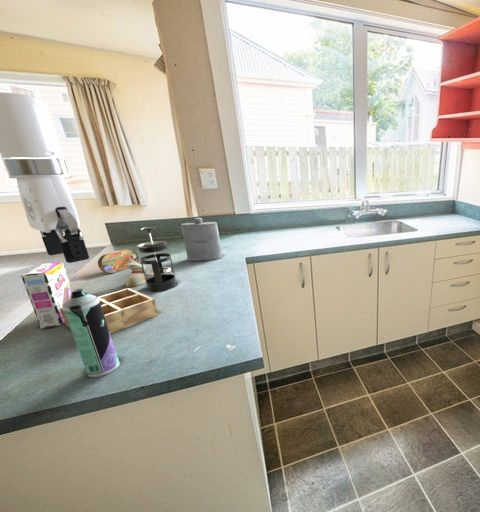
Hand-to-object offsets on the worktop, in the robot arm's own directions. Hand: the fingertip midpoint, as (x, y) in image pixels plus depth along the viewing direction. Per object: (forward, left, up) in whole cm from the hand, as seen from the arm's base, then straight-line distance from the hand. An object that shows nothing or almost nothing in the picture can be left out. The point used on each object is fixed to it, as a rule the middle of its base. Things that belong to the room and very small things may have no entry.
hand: (68, 257), depth 60 cm
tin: (+32, +75, -28) cm, 86 cm away
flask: (+59, +58, -28) cm, 87 cm away
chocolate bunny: (+28, +51, -28) cm, 65 cm away
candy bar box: (+3, +40, -28) cm, 49 cm away
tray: (+11, +25, -27) cm, 39 cm away
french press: (+31, +39, -28) cm, 57 cm away
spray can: (0, 0, -28) cm, 28 cm away
